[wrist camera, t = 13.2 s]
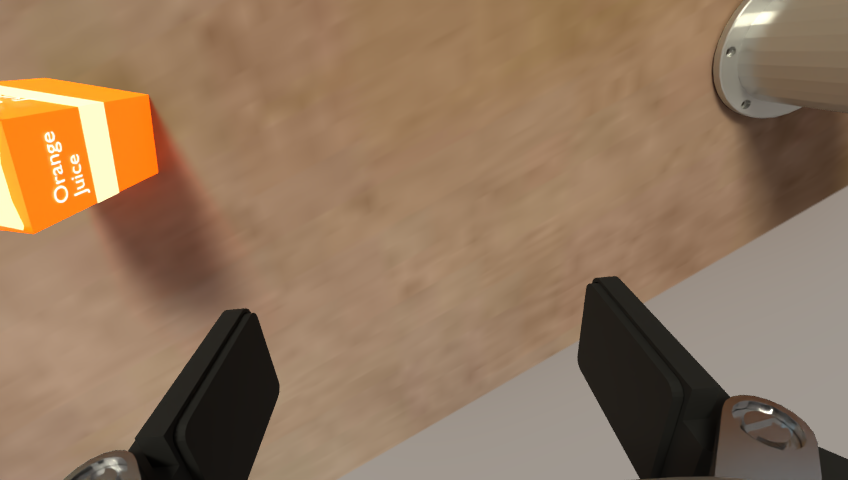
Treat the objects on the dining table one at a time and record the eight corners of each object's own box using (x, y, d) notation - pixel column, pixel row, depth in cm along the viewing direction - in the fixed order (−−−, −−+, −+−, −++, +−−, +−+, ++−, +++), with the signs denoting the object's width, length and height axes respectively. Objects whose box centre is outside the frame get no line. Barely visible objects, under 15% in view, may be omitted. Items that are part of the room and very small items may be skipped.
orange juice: (159, 174, 39) (-51, 279, 21) (63, 160, 38) (-243, 258, 20) (148, 92, 36) (-112, 134, 18) (44, 75, 35) (-344, 101, 17)
